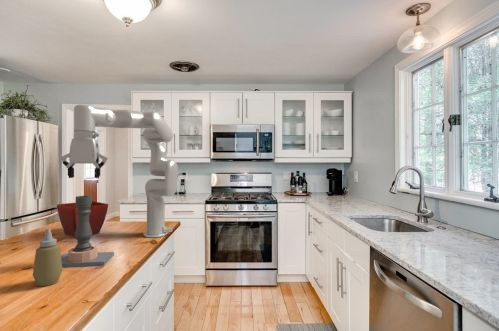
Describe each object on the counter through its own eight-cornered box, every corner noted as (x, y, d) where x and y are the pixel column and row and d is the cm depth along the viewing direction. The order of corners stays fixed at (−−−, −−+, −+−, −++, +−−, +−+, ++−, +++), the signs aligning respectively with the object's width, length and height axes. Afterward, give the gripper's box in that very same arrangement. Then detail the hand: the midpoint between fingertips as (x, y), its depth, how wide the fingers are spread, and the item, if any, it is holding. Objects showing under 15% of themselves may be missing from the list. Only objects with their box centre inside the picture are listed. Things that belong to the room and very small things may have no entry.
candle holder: (84, 260, 109) (84, 197, 109) (70, 259, 110) (71, 197, 110) (95, 255, 115) (96, 195, 115) (82, 254, 116) (83, 195, 116)
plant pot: (109, 233, 157) (109, 203, 157) (73, 240, 141) (73, 208, 141) (91, 228, 167) (91, 200, 167) (55, 235, 151) (55, 204, 151)
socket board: (113, 255, 120) (114, 243, 120) (104, 265, 108) (104, 252, 108) (63, 257, 117) (63, 245, 117) (47, 267, 105) (48, 254, 105)
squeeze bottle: (43, 277, 96) (43, 226, 96) (67, 277, 97) (67, 226, 97) (26, 288, 88) (26, 232, 88) (52, 288, 89) (53, 232, 89)
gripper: (110, 137, 117) (109, 177, 118) (65, 136, 114) (65, 177, 115) (104, 135, 110) (103, 178, 110) (56, 134, 107) (56, 178, 107)
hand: (84, 177), depth 112 cm, fingers open, 9 cm apart
